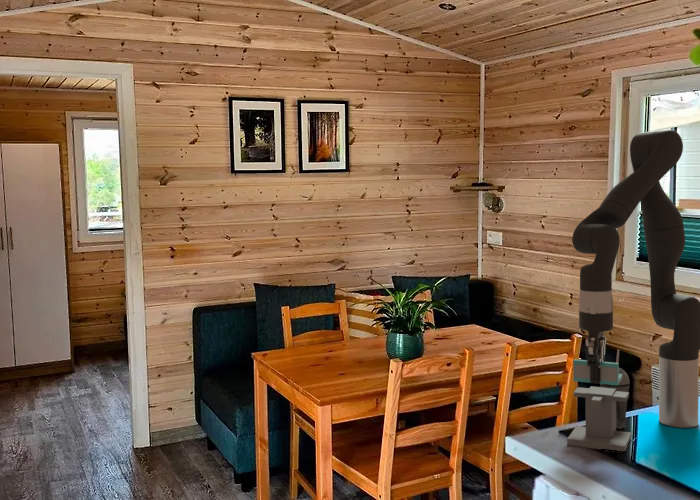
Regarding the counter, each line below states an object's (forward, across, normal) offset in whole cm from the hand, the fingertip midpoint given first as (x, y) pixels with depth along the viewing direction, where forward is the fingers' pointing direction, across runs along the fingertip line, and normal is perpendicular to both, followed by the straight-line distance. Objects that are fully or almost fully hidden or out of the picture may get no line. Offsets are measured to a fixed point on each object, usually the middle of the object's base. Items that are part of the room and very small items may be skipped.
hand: (596, 382), depth 167 cm
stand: (+16, -4, 0) cm, 16 cm away
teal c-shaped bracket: (0, -3, 0) cm, 3 cm away
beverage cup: (+16, -17, +2) cm, 23 cm away
